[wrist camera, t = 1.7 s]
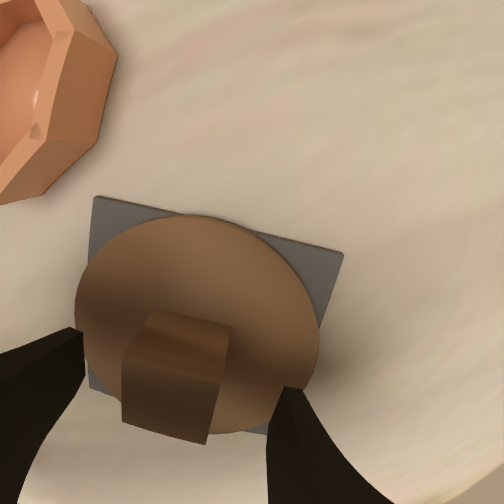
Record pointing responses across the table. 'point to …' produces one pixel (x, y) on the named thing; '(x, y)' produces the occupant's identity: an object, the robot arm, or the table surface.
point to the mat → (296, 253)
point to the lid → (195, 326)
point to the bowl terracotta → (48, 91)
